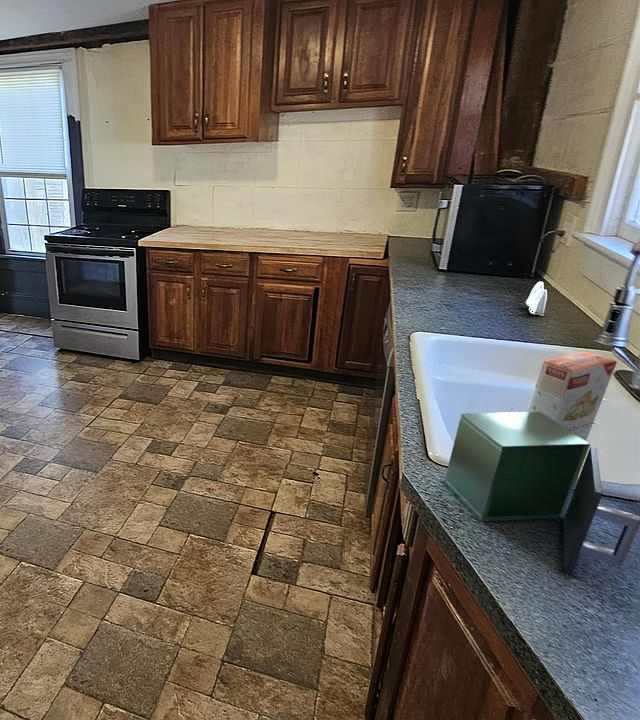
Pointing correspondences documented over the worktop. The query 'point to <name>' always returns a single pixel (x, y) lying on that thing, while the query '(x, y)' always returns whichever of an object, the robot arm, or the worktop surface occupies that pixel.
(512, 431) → the dark green box
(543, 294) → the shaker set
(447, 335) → the worktop surface
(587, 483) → the door
